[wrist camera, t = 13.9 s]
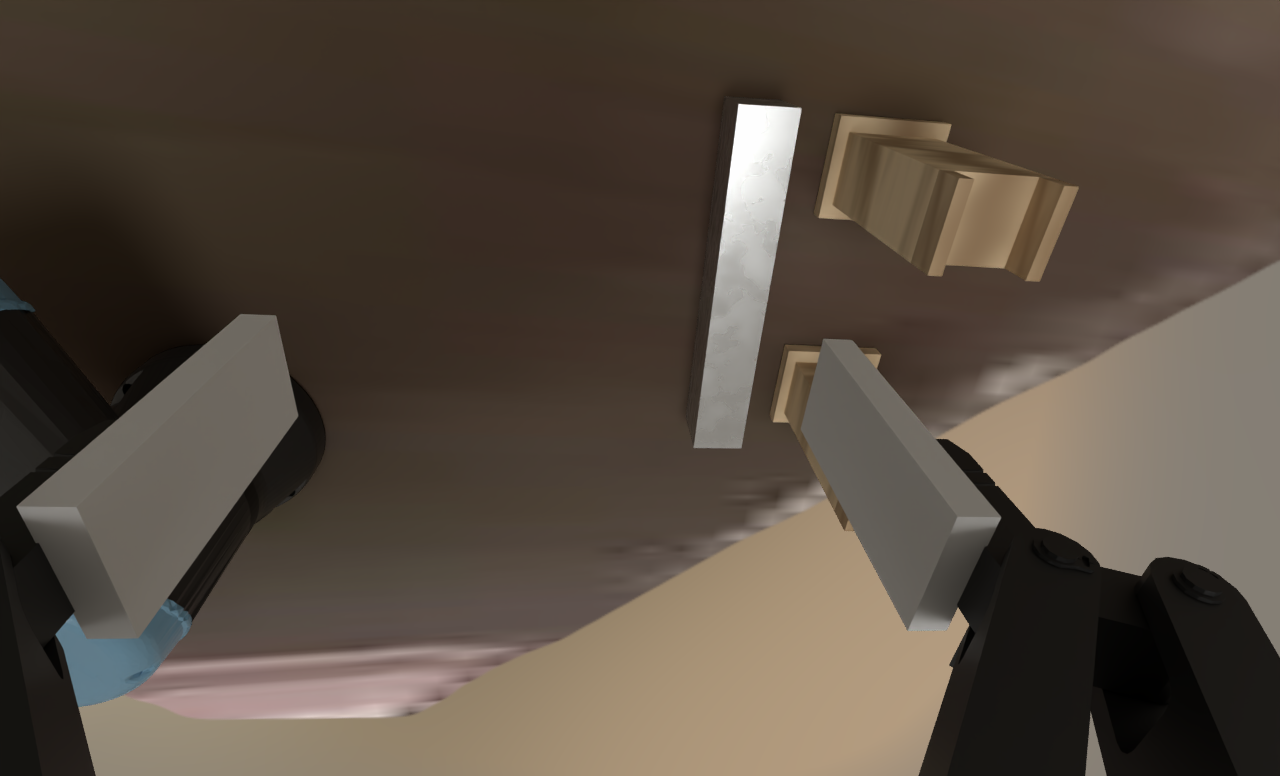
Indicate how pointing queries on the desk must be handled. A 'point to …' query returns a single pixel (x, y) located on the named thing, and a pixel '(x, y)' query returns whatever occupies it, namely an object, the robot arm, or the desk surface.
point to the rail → (739, 264)
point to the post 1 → (793, 403)
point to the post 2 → (940, 197)
